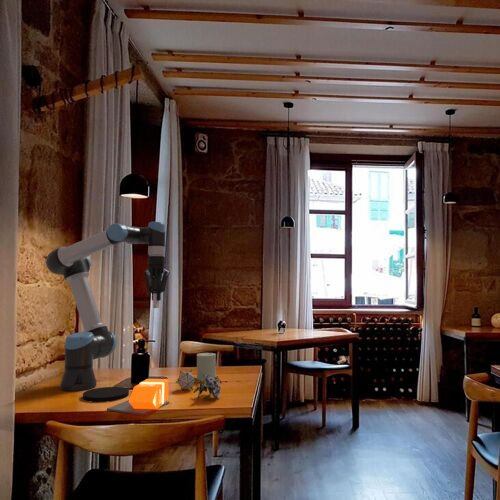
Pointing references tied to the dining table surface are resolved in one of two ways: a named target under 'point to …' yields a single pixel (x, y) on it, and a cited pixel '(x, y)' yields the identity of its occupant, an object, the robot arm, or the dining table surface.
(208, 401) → the dining table surface
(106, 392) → the wireless charger
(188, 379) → the game die
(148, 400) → the orange juice
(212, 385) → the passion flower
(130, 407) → the mat
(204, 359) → the can
